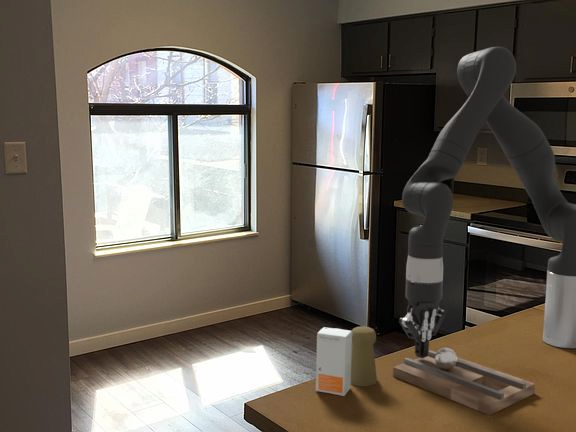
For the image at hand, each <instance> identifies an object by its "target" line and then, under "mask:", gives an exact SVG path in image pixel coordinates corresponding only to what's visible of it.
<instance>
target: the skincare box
mask: <svg viewBox="0 0 576 432" xmlns="http://www.w3.org/2000/svg"><path fill="white" fill-rule="evenodd" d="M352 346H353V343H352V330H348V329H342V328H336V327H335V328H333V327H325V326H323V327H322V328H320V330H319V331H318V332H317V333H316V360H315V361H316V363H315V364H316V366H315V391H316V392H321V393H327V394H332V395H337V396H341V397H345V396H346V395H347V393H348V392H349V391H350V389H351V386H352V384H351V353H352Z"/></svg>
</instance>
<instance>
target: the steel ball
mask: <svg viewBox="0 0 576 432" xmlns="http://www.w3.org/2000/svg"><path fill="white" fill-rule="evenodd" d="M437 351H438V352H437ZM437 351H436V352H437V353H436V355H435V361H436V364H437V365H438V366H439V367H440V368H441V369H444V370H449V369H452V368H453V367H454V366H455V365H456V363H457V357H458V356H457V354H456V352H455V351H454V350H453V349H452V348H449V347H442V348H440V349H438V350H437Z"/></svg>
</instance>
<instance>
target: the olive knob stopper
mask: <svg viewBox="0 0 576 432" xmlns="http://www.w3.org/2000/svg"><path fill="white" fill-rule="evenodd" d="M351 331H352V350H351V385H353V386H357V387H358V386H359V387H370V386H373V385H374V386H375V385H376V383H377V382H378V378H377V377H378V376H377V368H376V359H375V350H374V344H375V343H376V341H377V333H376V331H375V329H374V328H371V327H369V326H362V325H361V326H356V327H354V328H352V329H351Z"/></svg>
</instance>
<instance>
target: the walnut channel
mask: <svg viewBox="0 0 576 432" xmlns="http://www.w3.org/2000/svg"><path fill="white" fill-rule="evenodd" d="M438 351H439V350H437V351H434V350H432V349H429V352H428V356H427V357H425V358H420V357H417V358H414V359H412V358H409V357H405V358H403V363H401V364H398V365H395V366H393V368H392V376H393V377H395V378H397V379H400V380H402V381H405V382H406V383H409V384H412V385H414V386H417V387H419V388H421V389H424V390H427V391H429V392H431V393H434V394H437V395H439V396H441V397H445V398H447V399H448V400H451V401H454V402H456V403H459V404H461V405H463V406H466V407H469V408H471V409H474V410H476V411H479V412H480V413H483V414H485V415H488V416H491V415H493V414H494V413H497V412H499V411H501V410H503V409H506V408H507V407H511V406H512V405H514V404H516V403H518V402H520V401H522V400H524V399H526V398H529V397H530V396H532V395H534V394H535V391H536V383H534V382H531V381H529V380H525V379H524V378H523V379H522V378H520V377H517V376H514V375H511V374H509V373H505V372H502V371H499V370H496V369H493V368H491V367H488V366H485V365H481V364H479V363H475V362H473V361H469V360H466V359H464V358H461V357H459V356H457V363H456V365H455V366H454V367H453V368H452V369H449V370H444V369H441V368H440V367H439V366H438V365H437V364H436V361H435V355H436V353H437V352H438Z"/></svg>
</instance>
